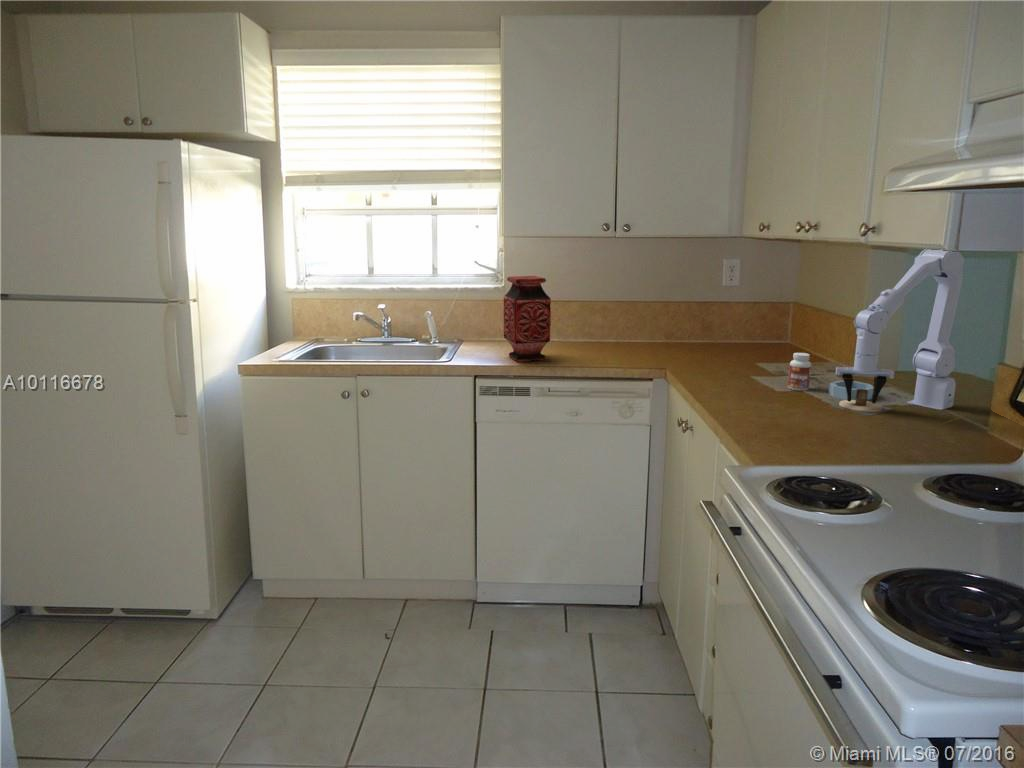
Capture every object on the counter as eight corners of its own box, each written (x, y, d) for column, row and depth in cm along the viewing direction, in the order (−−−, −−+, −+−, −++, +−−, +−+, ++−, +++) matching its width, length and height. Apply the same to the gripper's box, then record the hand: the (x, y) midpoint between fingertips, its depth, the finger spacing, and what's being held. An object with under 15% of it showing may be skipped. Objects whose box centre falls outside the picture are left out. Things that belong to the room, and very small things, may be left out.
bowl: (879, 397, 220) (881, 386, 219) (859, 403, 213) (860, 391, 213) (843, 390, 229) (844, 379, 228) (822, 395, 222) (823, 384, 222)
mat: (892, 410, 207) (892, 408, 206) (869, 416, 200) (869, 415, 199) (851, 401, 216) (851, 399, 216) (828, 407, 209) (828, 406, 209)
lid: (889, 408, 207) (891, 391, 205) (869, 414, 200) (871, 396, 199) (852, 400, 215) (854, 383, 214) (831, 406, 209) (833, 389, 208)
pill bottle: (787, 390, 229) (790, 354, 226) (787, 385, 234) (791, 351, 232) (808, 392, 227) (812, 356, 224) (808, 387, 232) (812, 352, 230)
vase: (537, 354, 284) (538, 275, 277) (550, 361, 271) (551, 278, 264) (503, 356, 280) (503, 276, 273) (514, 363, 267) (514, 279, 260)
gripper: (893, 352, 206) (887, 400, 209) (836, 349, 210) (831, 396, 213) (897, 357, 199) (891, 406, 202) (839, 354, 203) (834, 402, 207)
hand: (861, 401), depth 207 cm, fingers open, 6 cm apart
